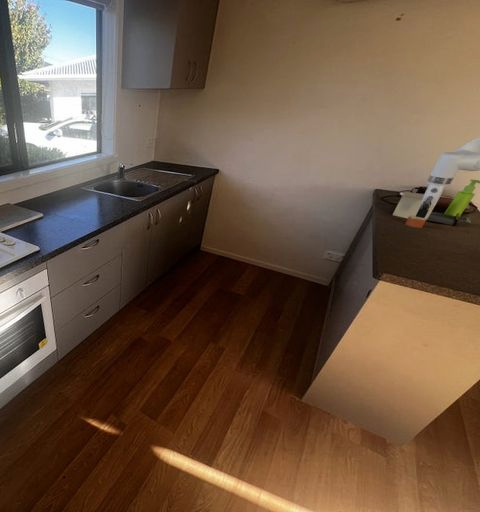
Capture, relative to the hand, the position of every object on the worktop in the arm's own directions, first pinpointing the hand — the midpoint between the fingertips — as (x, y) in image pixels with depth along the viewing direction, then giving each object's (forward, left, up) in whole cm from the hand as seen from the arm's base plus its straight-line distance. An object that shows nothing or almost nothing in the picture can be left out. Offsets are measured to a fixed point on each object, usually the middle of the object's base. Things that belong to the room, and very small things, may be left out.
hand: (421, 214), depth 144 cm
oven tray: (-19, -4, -5) cm, 20 cm away
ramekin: (+1, 0, -6) cm, 6 cm away
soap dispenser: (-33, -11, -6) cm, 36 cm away
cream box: (-12, -14, -6) cm, 19 cm away
